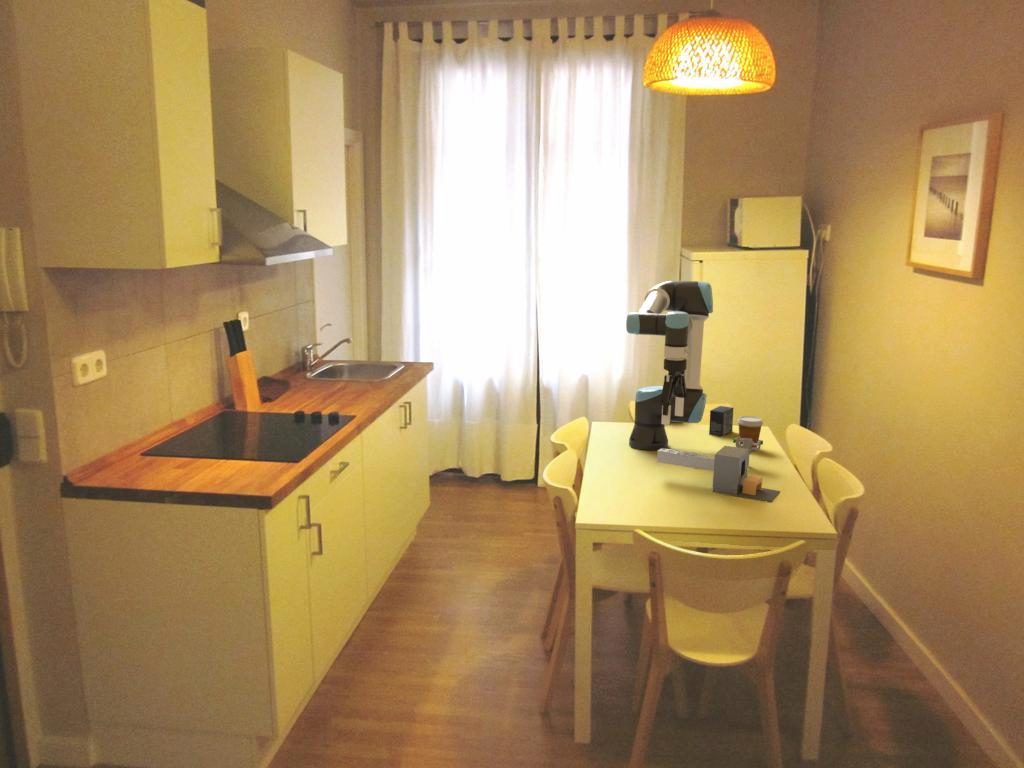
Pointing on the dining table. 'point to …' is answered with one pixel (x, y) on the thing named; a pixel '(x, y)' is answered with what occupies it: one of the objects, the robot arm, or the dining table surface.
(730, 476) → the block
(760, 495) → the mat
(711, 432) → the small box
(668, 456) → the shaft
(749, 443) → the mechanical component
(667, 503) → the dining table surface
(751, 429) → the disposable coffee cup
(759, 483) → the block
